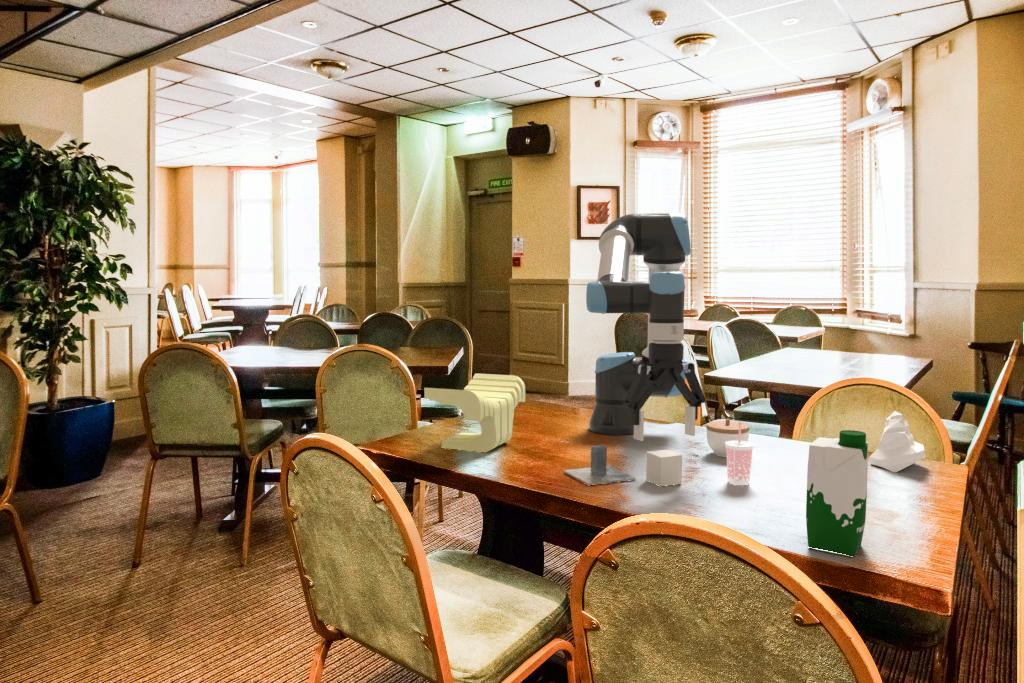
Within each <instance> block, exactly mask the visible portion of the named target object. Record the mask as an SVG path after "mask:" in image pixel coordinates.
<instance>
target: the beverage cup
mask: <svg viewBox="0 0 1024 683" xmlns="http://www.w3.org/2000/svg"><path fill="white" fill-rule="evenodd" d="M738 423H739V436H738V441H727V442H725V447H726V453H727V457H726V472H727V473H726V477H727V483H728V482H729V483H732V484H736V485H746V484H749V485H750V479H751V478H750V477H751V468H752V459H753V458H752V457H753V450H754V448H755V444H754V443H753V442H751V441H748V442H746V441H741V423H742V421H740V420H739V421H738ZM729 483H728V484H729Z"/></svg>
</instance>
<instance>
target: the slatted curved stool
mask: <svg viewBox="0 0 1024 683" xmlns="http://www.w3.org/2000/svg"><path fill="white" fill-rule="evenodd" d="M467 383H468V384H467V385H465V387H463V389H453V388H437V387H423V388H424V391H423V392H424V399H427V400H429V401H433V402H435V403H440V405H447V406H448V405H449V406H455V407H458V408H459V409H460V410H461V412H462V413H463V414H462V415H463V418H464V420H465V421H475V422H476V421H477V422H478V423H479V425H480V429H481V433H480V432H479V433H472V432H471V433H470V432H469V433H467V432H460V433H457V434H456V435H453V436H450V437H449V438H446V439H444V440H442V443H441V445H440V446H441V447H440V449H441V448H451V449H458V450H457V451H461V450H467V451H466V452H471V451H476V452H475V453H481V452H484V453H487V452H489V451H491V450H494V449H495V448H497V447H499V446H501V445H503V444H504V443H506V442H508V441H509V440H510V439H511V438H512V435H513V424H514V417H515V416H514V415H515V409H516V408H517V406H518V404H519V403H526V384H525V382H524V381H523V380H522V378H520V377H519V376H517V375H515V374H514V375H513V374H493V373H479V372H478V373H474V375H473V376H472V379H470V380H469V382H467ZM451 449H450V450H451Z"/></svg>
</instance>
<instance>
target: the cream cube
mask: <svg viewBox="0 0 1024 683" xmlns="http://www.w3.org/2000/svg"><path fill="white" fill-rule="evenodd" d="M645 467H646V470H645V480H648V481H650V482H652V483H651V484H653V483H655V484H657V485H659V486H665V485H673V484H680V485H682V484H683V455H682V454H680V453H678V452H675V451H673V450H669V449H662V450H661V449H660V450H652V451H646V466H645ZM648 481H647V482H648ZM650 482H649V483H650ZM681 483H682V484H681ZM655 484H654V485H655ZM657 485H656V486H657ZM659 486H658V487H659ZM673 486H674V485H673ZM665 487H666V486H665Z"/></svg>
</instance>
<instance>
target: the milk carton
mask: <svg viewBox="0 0 1024 683" xmlns="http://www.w3.org/2000/svg"><path fill="white" fill-rule="evenodd" d="M868 451H869V443H868V442H867V433H866V432H864V431H859V430H848V429H847V430H845V429H843V430H840V431H839V437H838V438H837V437H834V438H829V437H822V436H819V437H817V438H816V439H815V440H814V441H812V442H811V443H810V444H809V448H808V460H807V474H806V479H807V480H806V500H805V501H806V504H805V519H806V521H805V522H806V536H807V547H808V546H809V547H812V548H818V549H823V550H828V551H833V552H837V553H842V554H846V555H849V556H855V557H856V555H855V554H857V553H858V551H859V549H860V548H861V545H862V541H863V536H864V531H865V526H866V520H867V519H866V518H867V517H866V515H867V498H868V497H867V496H868V494H867V493H868V492H867V491H868V472H869V471H868V468H869V467H868V465H869V464H868V463H869V456H868V454H869V452H868ZM859 547H860V548H859ZM856 552H857V553H856Z"/></svg>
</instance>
